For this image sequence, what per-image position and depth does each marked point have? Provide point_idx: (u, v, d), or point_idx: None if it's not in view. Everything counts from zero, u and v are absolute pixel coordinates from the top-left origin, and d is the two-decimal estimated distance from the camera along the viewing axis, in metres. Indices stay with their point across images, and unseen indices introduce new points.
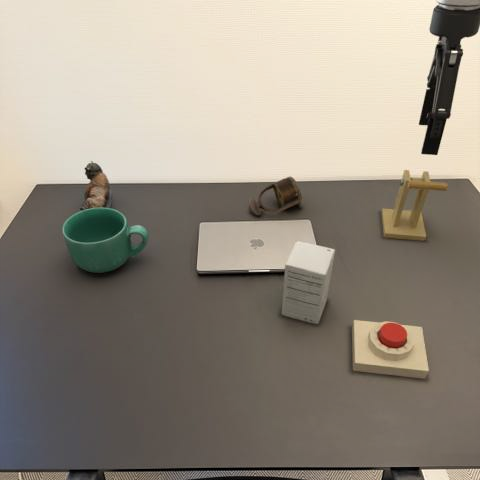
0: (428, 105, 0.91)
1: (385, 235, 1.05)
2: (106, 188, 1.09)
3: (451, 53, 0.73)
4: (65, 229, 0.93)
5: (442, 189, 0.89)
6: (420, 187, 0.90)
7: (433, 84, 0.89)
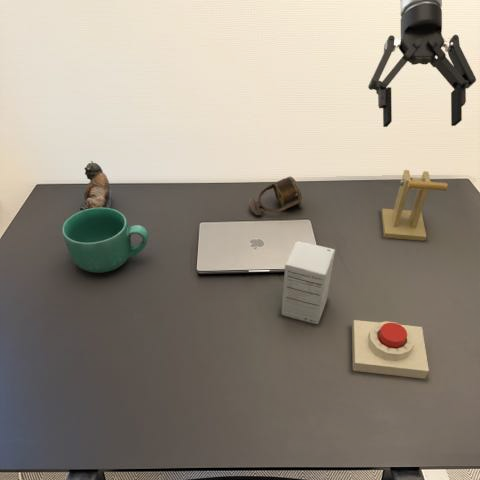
0: (453, 104, 0.92)
1: (385, 235, 1.05)
2: (106, 188, 1.09)
3: (386, 42, 0.92)
4: (65, 229, 0.93)
5: (442, 189, 0.89)
6: (420, 187, 0.90)
7: (457, 85, 0.92)
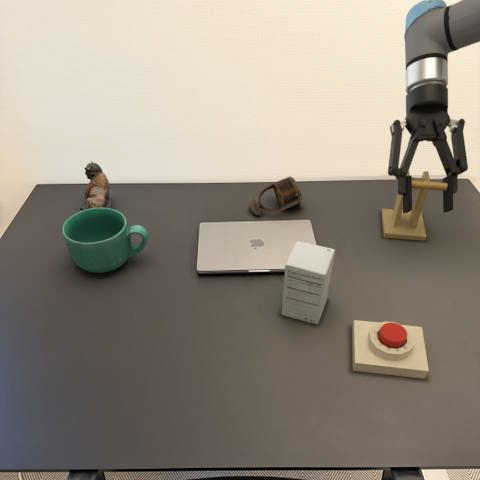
0: (445, 191, 0.90)
1: (385, 235, 1.05)
2: (106, 188, 1.09)
3: (391, 126, 0.90)
4: (65, 229, 0.93)
5: (442, 189, 0.89)
6: (420, 187, 0.90)
7: (449, 172, 0.90)
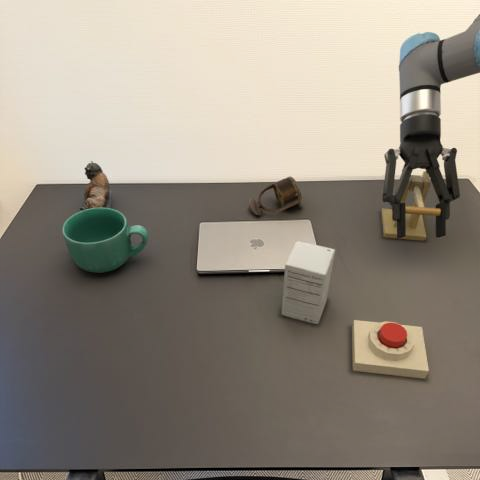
0: (437, 217, 0.93)
1: (385, 235, 1.05)
2: (106, 188, 1.09)
3: (385, 154, 0.93)
4: (65, 229, 0.93)
5: (435, 215, 0.92)
6: (414, 213, 0.93)
7: (441, 199, 0.93)
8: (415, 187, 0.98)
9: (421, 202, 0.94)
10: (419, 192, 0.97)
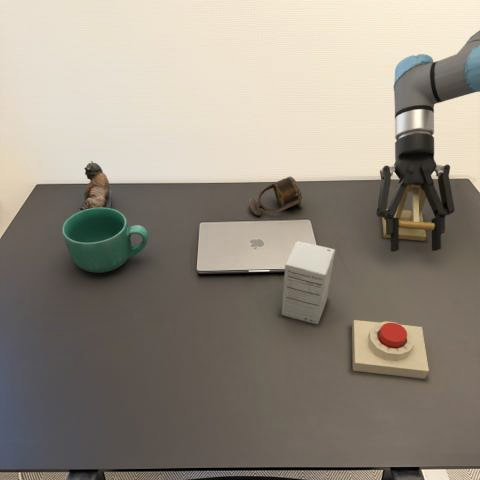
0: (433, 231, 0.97)
1: (385, 235, 1.05)
2: (106, 188, 1.09)
3: (381, 170, 0.96)
4: (65, 229, 0.93)
5: None
6: None
7: (437, 214, 0.96)
8: (414, 191, 0.99)
9: (417, 214, 0.96)
10: (417, 199, 0.98)
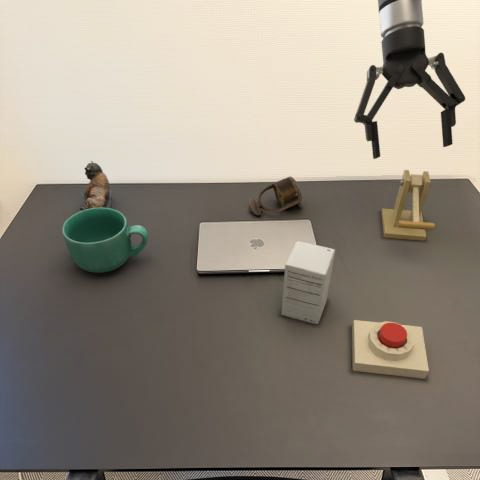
0: (443, 125, 0.90)
1: (385, 235, 1.05)
2: (106, 188, 1.09)
3: None
4: (65, 229, 0.93)
5: None
6: None
7: (446, 105, 0.89)
8: (414, 191, 0.99)
9: (417, 214, 0.96)
10: (417, 199, 0.98)
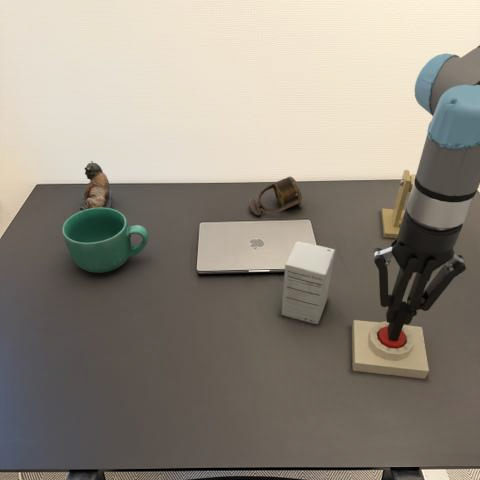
0: None
1: (385, 235, 1.05)
2: (106, 188, 1.09)
3: (374, 255, 0.68)
4: (65, 229, 0.93)
5: None
6: None
7: (408, 302, 0.74)
8: None
9: None
10: None
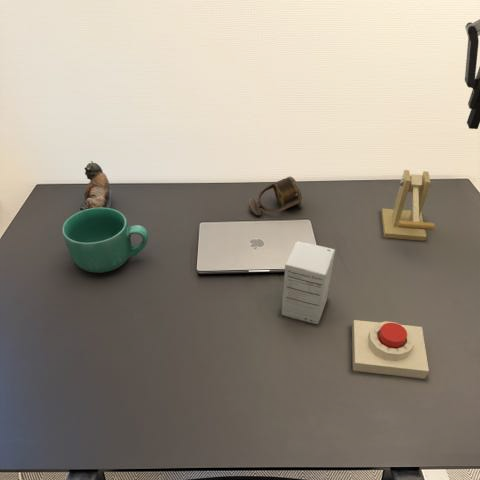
0: None
1: (385, 235, 1.05)
2: (106, 188, 1.09)
3: (466, 29, 0.79)
4: (65, 229, 0.93)
5: None
6: None
7: None
8: (414, 191, 0.99)
9: (417, 214, 0.96)
10: (417, 199, 0.98)
